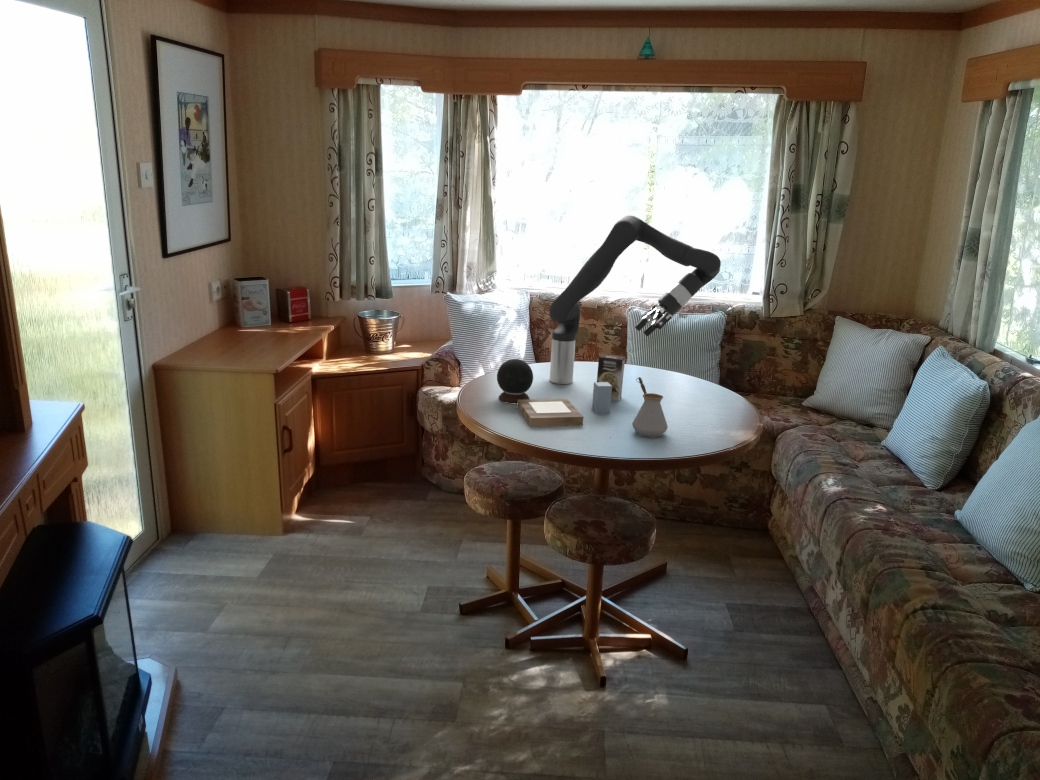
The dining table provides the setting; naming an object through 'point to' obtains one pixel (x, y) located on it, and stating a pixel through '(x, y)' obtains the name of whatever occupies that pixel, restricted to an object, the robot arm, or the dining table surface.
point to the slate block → (601, 397)
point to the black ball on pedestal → (514, 380)
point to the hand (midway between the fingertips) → (640, 331)
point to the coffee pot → (650, 415)
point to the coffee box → (612, 373)
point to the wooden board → (549, 412)
